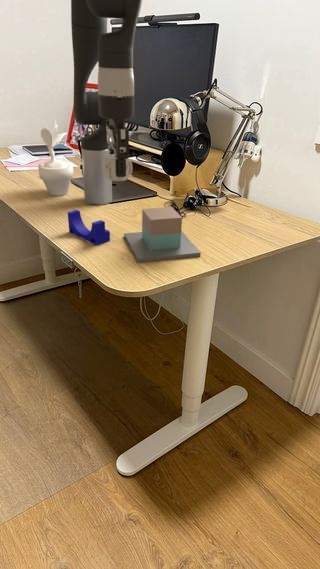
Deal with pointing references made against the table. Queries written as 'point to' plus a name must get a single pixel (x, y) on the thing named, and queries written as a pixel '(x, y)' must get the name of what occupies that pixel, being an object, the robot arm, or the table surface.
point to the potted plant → (55, 166)
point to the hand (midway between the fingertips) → (117, 172)
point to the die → (110, 168)
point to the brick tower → (160, 237)
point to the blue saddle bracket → (80, 230)
